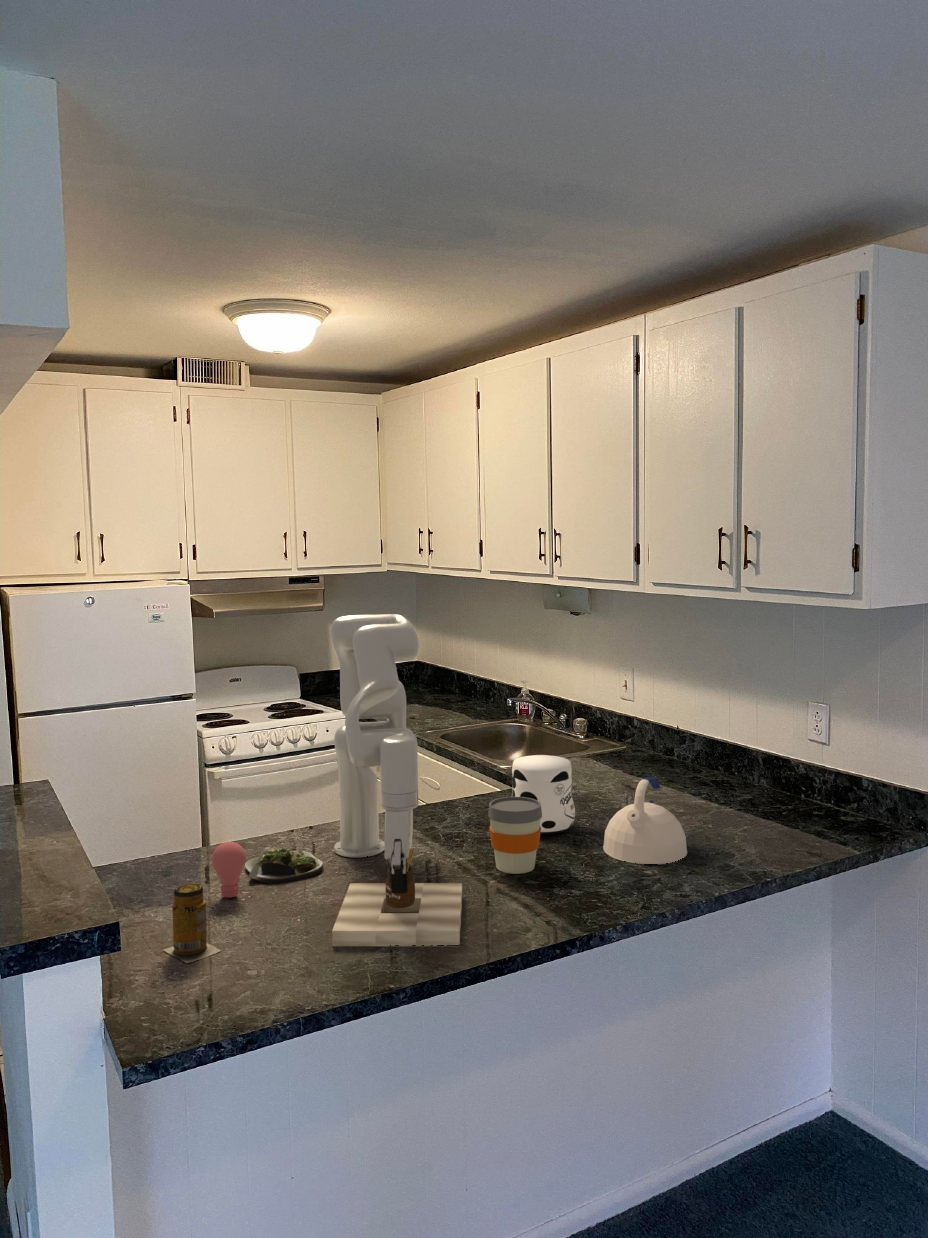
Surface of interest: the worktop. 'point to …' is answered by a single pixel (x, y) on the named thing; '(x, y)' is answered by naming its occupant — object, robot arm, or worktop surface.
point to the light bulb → (229, 866)
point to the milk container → (546, 789)
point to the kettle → (645, 832)
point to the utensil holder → (401, 898)
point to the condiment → (190, 925)
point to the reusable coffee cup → (515, 833)
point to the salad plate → (283, 866)
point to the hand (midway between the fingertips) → (400, 886)
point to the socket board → (399, 917)
